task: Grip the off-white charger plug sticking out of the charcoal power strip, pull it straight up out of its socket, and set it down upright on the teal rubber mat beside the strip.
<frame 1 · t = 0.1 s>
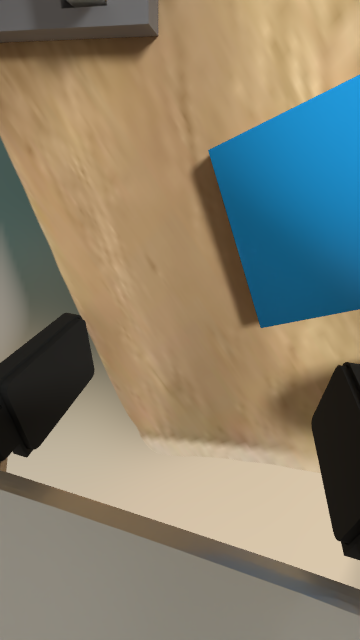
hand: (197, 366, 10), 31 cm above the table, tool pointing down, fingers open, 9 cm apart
book: (301, 223, 35), on the table
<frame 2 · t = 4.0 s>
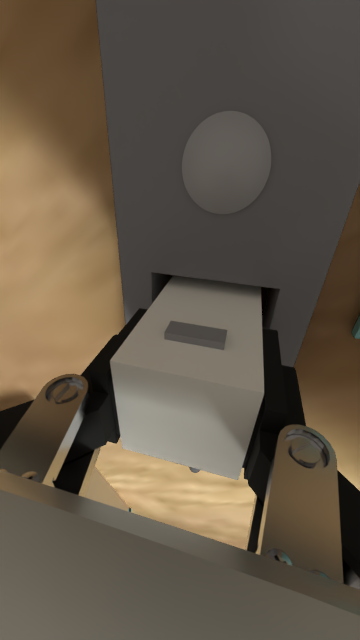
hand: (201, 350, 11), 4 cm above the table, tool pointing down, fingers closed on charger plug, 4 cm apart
book: (27, 462, 33), on the table
charger plug: (215, 302, 14), resting in power strip, touching gripper
power strip: (227, 205, 12), on the table
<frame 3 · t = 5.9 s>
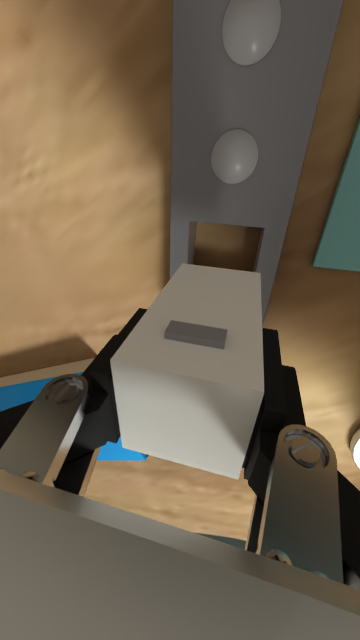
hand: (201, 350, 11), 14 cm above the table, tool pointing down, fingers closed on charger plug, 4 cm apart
book: (67, 405, 41), on the table
charger plug: (215, 302, 14), point 9 cm above the table, touching gripper
power strip: (233, 182, 19), on the table
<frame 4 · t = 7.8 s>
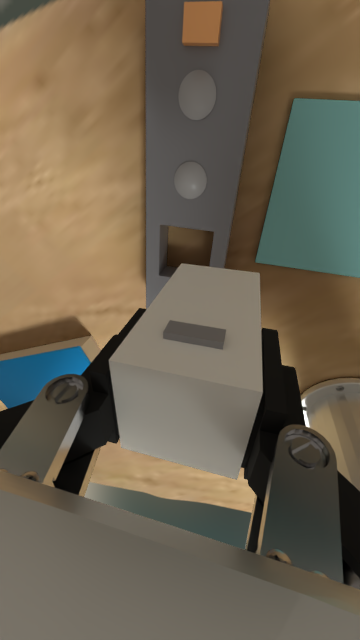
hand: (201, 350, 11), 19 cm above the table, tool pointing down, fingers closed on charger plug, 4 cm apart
book: (63, 379, 47), on the table
mat: (348, 200, 22), on the table
charger plug: (215, 302, 14), point 15 cm above the table, touching gripper
power strip: (195, 196, 25), on the table
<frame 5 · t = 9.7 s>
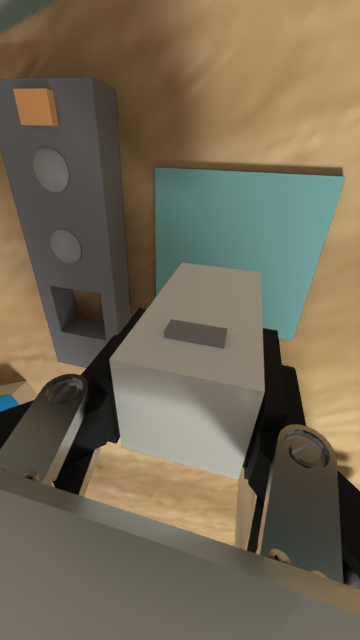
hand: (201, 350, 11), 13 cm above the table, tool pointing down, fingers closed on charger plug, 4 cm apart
book: (12, 419, 47), on the table
mat: (230, 260, 22), on the table
charger plug: (215, 302, 14), point 9 cm above the table, touching gripper
power strip: (88, 254, 25), on the table
when the fingers open (6 cm above the table, at t = 11.7 s): charger plug drops 1 cm, resting on mat.
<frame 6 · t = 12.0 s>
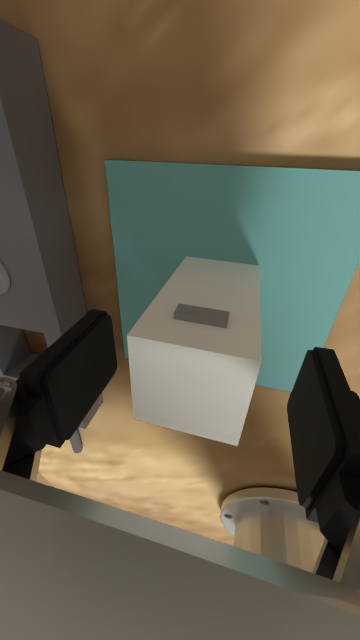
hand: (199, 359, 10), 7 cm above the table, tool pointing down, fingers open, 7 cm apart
mat: (219, 290, 16), on the table
charger plug: (217, 293, 15), resting on mat
power strip: (32, 277, 19), on the table
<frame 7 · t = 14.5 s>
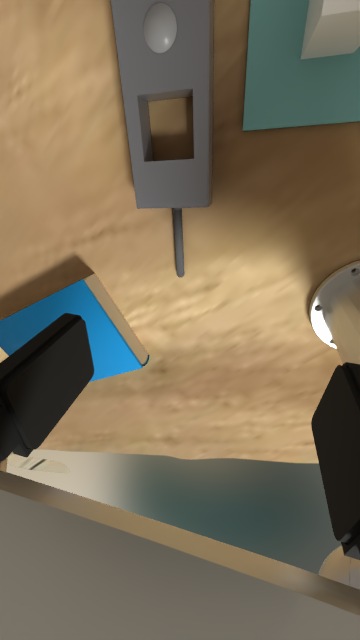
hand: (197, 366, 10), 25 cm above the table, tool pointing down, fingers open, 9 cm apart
book: (73, 335, 47), on the table
mat: (332, 24, 21), on the table
charger plug: (332, 21, 20), resting on mat
power strip: (171, 65, 24), on the table
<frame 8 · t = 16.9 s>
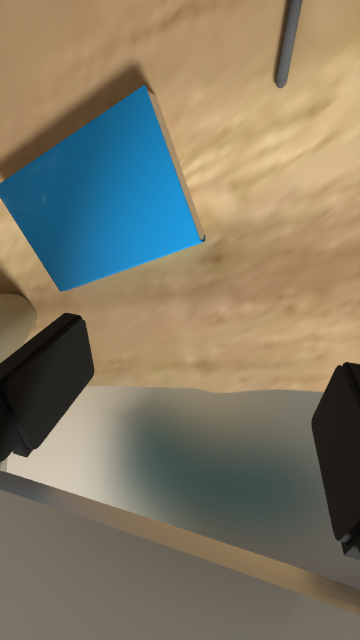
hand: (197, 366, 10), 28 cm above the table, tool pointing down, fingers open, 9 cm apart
plant pot: (22, 309, 52), on the table
book: (107, 210, 37), on the table
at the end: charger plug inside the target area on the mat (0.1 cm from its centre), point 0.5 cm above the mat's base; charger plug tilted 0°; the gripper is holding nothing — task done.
